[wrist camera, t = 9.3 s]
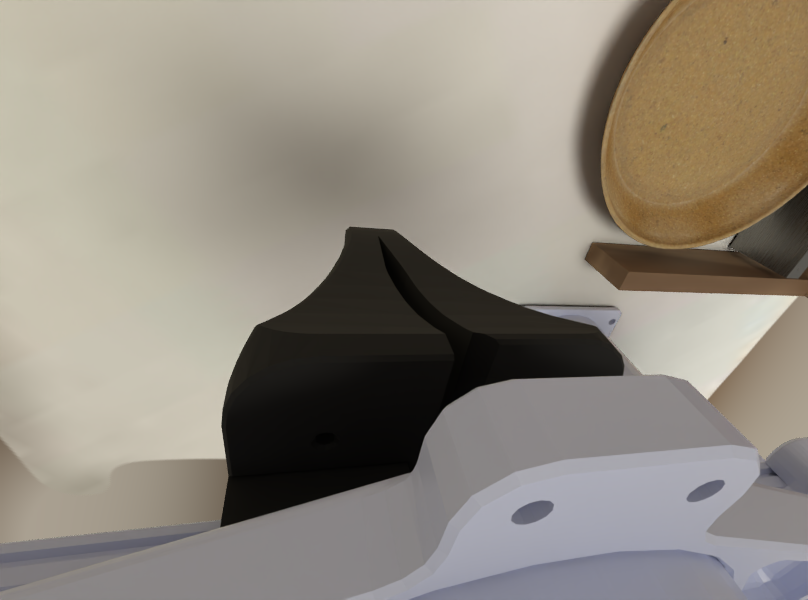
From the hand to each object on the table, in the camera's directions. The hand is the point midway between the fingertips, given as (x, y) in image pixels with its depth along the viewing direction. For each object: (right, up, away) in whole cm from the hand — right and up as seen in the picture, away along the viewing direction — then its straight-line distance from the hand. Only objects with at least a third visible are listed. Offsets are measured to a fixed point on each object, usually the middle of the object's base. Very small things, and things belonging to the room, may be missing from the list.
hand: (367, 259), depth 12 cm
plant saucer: (+17, +9, +10) cm, 22 cm away
